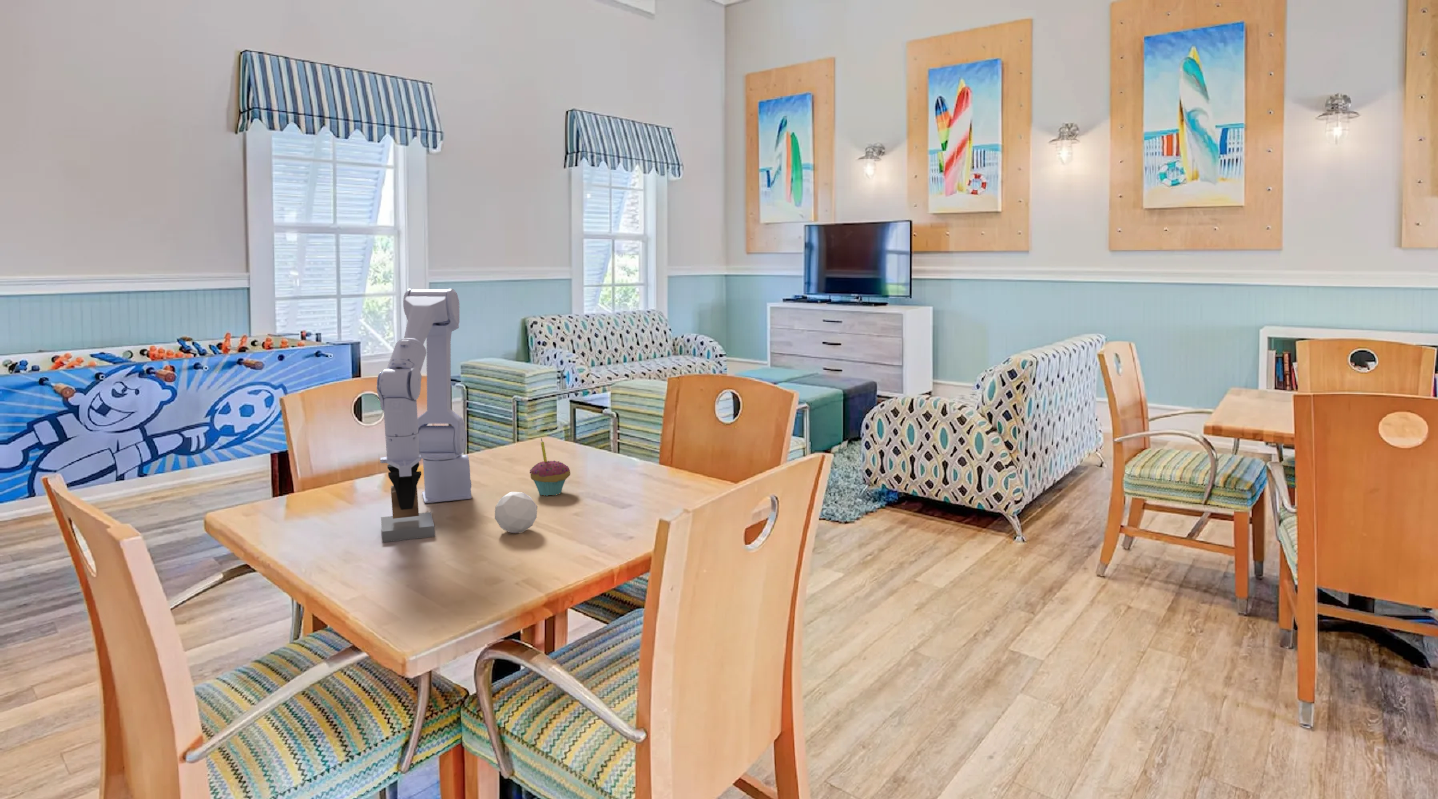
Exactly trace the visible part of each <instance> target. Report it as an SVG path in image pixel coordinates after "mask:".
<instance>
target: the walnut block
mask: <svg viewBox="0 0 1438 799" xmlns="http://www.w3.org/2000/svg"><path fill="white" fill-rule="evenodd" d="M390 494H391V495H390V496H391V498H390V499H391V512H392V516H393V519H395V518H404V517H414V516H419V513H420V512H419V511H420V510H419V497H418V496H419V495H418V486H417V487H416V491H415V499H414V505H413V509H405V510H401V508H400V506H399V502H398V498H397V494H396V490H395V488H394V485H390Z"/></svg>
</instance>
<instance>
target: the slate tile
mask: <svg viewBox="0 0 1438 799" xmlns="http://www.w3.org/2000/svg"><path fill="white" fill-rule="evenodd" d="M380 522H381V523H380V524H381V538H382V543H387V542H397V541H407V540H414V539H415V540H416V539H423V538H430V537H431V538H432V537H435V536H436V532H435V523H434V520H433V515H432V511H427V512H419V516H414V517H404V518H395V519H393V515H389V516H381V517H380Z"/></svg>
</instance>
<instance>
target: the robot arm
mask: <svg viewBox="0 0 1438 799" xmlns="http://www.w3.org/2000/svg"><path fill="white" fill-rule="evenodd" d="M402 299H403V300H402V301H403V302H402V303H403V304H402V306H403V312H404V315H405V317H406V320H407V322H406V327H405V331H404V338H402V339H399V340H397V342H395V345H394V348H393V350H392V353H391V356H390V359H389V362H388V365H387V367H386V368H385V369H383V371H380V372H379V373H378V375H377V378H376V392H377V396H378V399H379V403H380V404H379V405H380V409H381V411H383V417H384V419H383V420H384V437H385V450H386V452H385V454H386V456H383V457H382V456H381V457H379V463H380V464H387V465H386V466H387V470H388V472H387V474H388V478H389V480H390V482H391V483H392V486H394V488H395V490H396V494H397V498H398V502H399V506H400V508H401V510H405V509H413V505H414V499H415V491H416V487H417V488H418V484H419V481H420V478H421V476H422V471H421V470H420V471H418V469H419V467H420V462H421V460H422V463H423V464H422V465H423V484H424V486H423V487H424V491H422V492H421V493H422V495H421V496H422V499H423V503H424V504H431V503H439V502H451V501H460V500H462V501H463V500H470V499H472V480H471V466H470V457H469V455H468V454H463V453H464V452H465V450H466V447H467V432H466V425H465V424H466V422H465V421H464V418H463V417H462V416H461V415H459V414H458V413H456V412H455V411H454V410H453V409H452V406H451V405H452V403H451V402H452V399H451V398H452V393H451V392H452V391H451V389H452V387H451V386H452V383H451V380H452V379H451V378H452V376H451V375H452V373H451V371H452V370H451V368H452V365H451V360H452V359H451V356H452V355H451V353H452V352H451V350H452V349H451V345H452V344H451V340H452V334H453V332H454V331H456V330H458V329H459V327H460V299H459V296H458V293H457V292H456V290H455V289H453V288H448V289H430V288H429V289H427V288H426V289H423V288H422V289H420V288H419V289H416V288H415V289H414V288H408V289H407V290H406V291H405V293H404V295H403V298H402ZM425 341H426V347H425ZM425 359H426V411H425V412H423V414H421V415H419V416H418V402H417V400H418V399H419V397H420V395H421V390H422V388H421V387H422V379H423V377H422V372H421V371H422V368H423V366H424V361H425ZM430 424H431V425H430ZM433 424H437V425H433ZM438 424H440V425H438ZM441 424H444V425H441ZM445 424H446V425H445Z"/></svg>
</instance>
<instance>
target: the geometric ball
mask: <svg viewBox="0 0 1438 799" xmlns="http://www.w3.org/2000/svg"><path fill="white" fill-rule="evenodd" d="M537 515H538V506H537V504H536V502H535V501H534V500H533V497H531V496H530V495H528V494H527V493H526V492H521V491H510V492H508V493H506V494H505V495H503V496H502V497H500V499H499V500H498V502H497V504H496V505H495V509H494V519H495V522H497V524H498V526H499V527H500V529H503V530H504V531H506V532H508V533H510V534H514V533H515V534H522V533H524V532H525V531H527V530H528V529H531V527H532V526H533V525H534V523H535V521H536V520H537V518H538V517H537ZM521 532H522V533H521Z"/></svg>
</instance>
